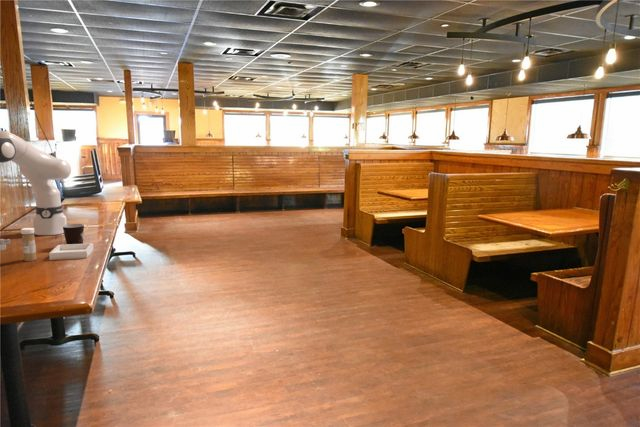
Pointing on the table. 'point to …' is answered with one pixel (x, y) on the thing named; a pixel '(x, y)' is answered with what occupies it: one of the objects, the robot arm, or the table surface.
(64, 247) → the tray
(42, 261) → the table surface
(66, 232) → the coffee mug
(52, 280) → the table surface
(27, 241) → the sprinkles bottle
